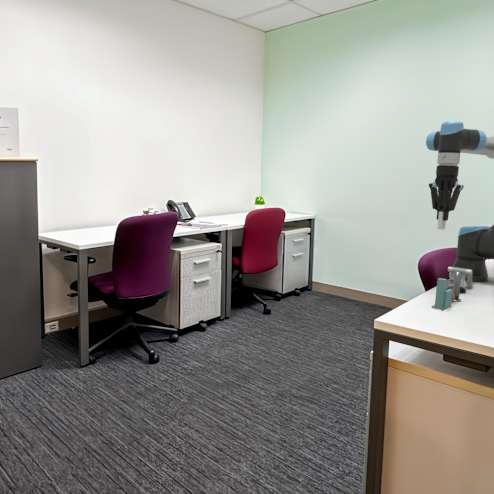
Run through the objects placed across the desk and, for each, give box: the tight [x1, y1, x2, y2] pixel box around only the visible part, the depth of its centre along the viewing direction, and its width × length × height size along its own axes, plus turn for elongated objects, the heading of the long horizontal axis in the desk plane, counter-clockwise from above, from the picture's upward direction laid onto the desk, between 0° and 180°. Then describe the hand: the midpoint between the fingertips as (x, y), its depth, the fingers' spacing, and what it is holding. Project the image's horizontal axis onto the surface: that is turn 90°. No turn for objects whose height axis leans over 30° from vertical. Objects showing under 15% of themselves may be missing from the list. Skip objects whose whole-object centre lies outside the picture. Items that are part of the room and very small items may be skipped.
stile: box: [431, 277, 453, 311], centre depth 160 cm, size 6×4×10 cm, turn 137°
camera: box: [447, 279, 467, 294], centre depth 184 cm, size 5×10×4 cm, turn 24°
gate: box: [446, 283, 457, 302], centre depth 164 cm, size 11×2×6 cm, turn 136°
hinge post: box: [452, 271, 462, 303], centre depth 169 cm, size 4×4×10 cm
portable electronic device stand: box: [447, 266, 474, 289], centre depth 189 cm, size 9×8×8 cm
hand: (441, 228), depth 177 cm, fingers closed
